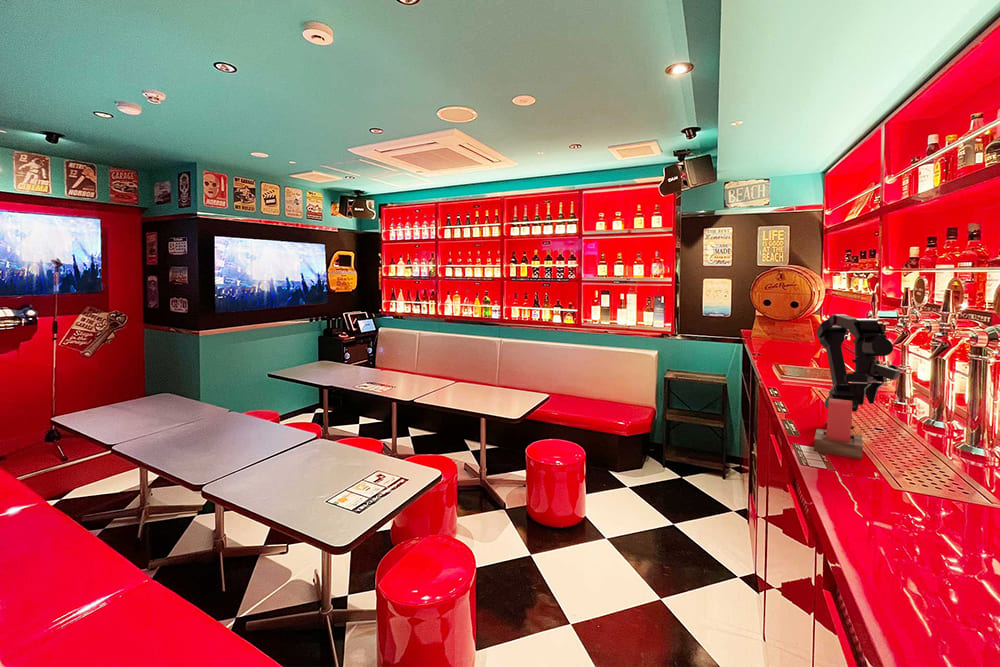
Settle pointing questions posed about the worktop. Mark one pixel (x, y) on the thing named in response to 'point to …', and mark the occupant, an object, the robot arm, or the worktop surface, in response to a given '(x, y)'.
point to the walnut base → (838, 445)
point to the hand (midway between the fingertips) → (866, 404)
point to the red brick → (839, 420)
